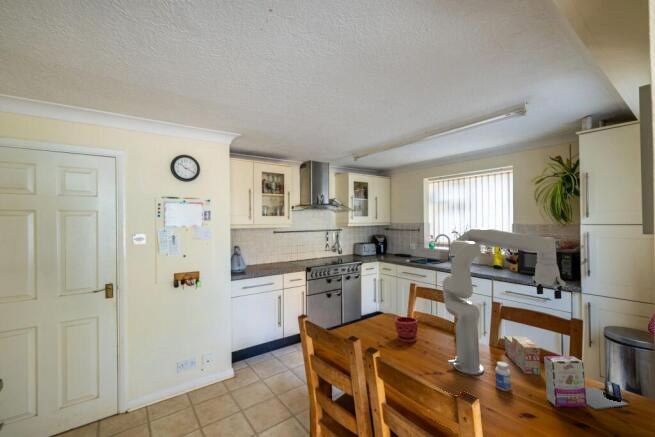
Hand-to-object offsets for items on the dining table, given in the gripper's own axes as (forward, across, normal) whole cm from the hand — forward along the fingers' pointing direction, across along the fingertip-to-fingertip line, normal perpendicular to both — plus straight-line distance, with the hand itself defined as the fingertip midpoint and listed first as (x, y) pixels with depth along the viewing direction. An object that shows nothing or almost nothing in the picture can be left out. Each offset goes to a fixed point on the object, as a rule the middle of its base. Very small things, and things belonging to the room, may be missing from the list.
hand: (548, 296), depth 139 cm
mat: (+31, +30, -12) cm, 45 cm away
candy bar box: (+32, +30, -26) cm, 51 cm away
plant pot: (+32, -38, -59) cm, 77 cm away
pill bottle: (+31, +17, -41) cm, 54 cm away
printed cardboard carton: (+32, 0, -17) cm, 36 cm away
